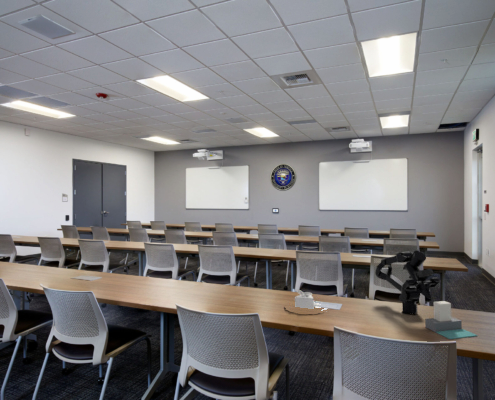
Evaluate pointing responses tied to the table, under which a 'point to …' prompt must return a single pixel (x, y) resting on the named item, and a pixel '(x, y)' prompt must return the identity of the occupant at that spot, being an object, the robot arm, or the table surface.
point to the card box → (442, 311)
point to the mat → (456, 334)
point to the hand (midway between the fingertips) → (429, 298)
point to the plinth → (443, 324)
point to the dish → (306, 301)
